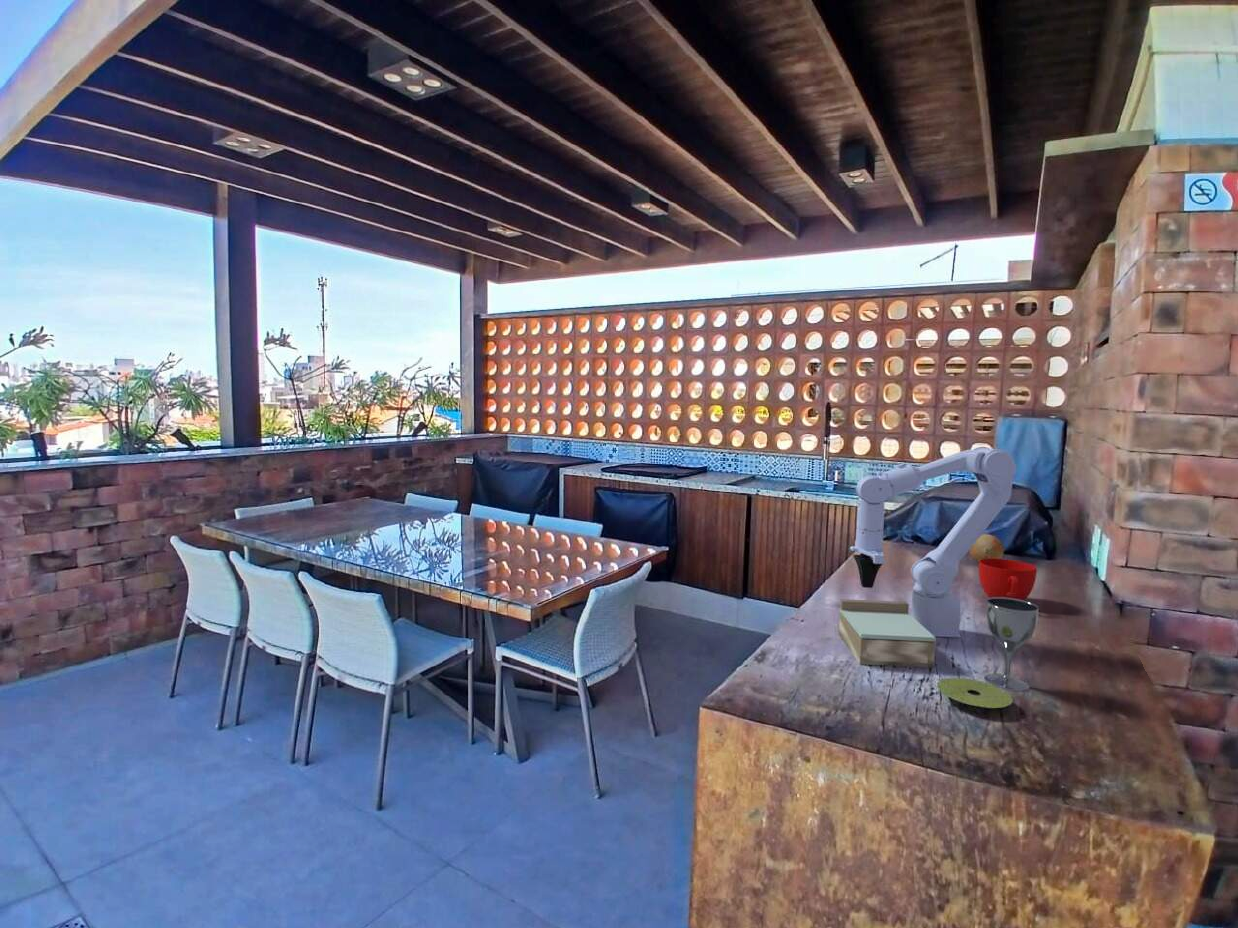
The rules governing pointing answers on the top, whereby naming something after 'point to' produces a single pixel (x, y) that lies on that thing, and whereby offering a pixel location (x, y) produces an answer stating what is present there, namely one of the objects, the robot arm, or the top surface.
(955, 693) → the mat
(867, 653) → the box
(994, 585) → the ceramic cup
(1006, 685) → the wine glass
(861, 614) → the lid
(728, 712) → the top surface
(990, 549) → the onion
